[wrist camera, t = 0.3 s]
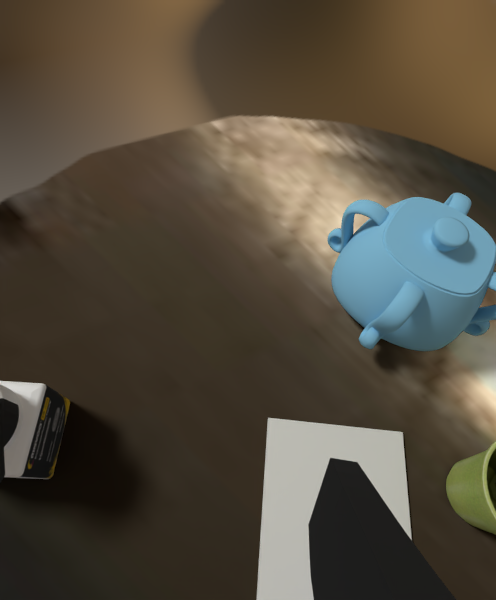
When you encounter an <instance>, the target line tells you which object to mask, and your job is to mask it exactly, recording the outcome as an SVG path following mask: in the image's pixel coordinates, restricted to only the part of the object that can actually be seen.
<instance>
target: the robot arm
mask: <svg viewBox="0 0 496 600" xmlns="http://www.w3.org/2000/svg"><path fill="white" fill-rule="evenodd" d="M4 476H5V459H4V442H3V425H2V407H1V402H0V483H1V481H2V479H3V478H4ZM308 527H309V554H310V573H311V583H312V590H313V597H314V600H456V599H455V597H454V596H453V595H452V594H451V592H450V591H449V590H448V589H447V587H446V586H445V585H444V583H443V582H442V581H441V580H440V578H439V577H438V576H437V574H436V573H435V572H434V570H433V569H432V568H431V566H430V565H429V564H428V562H427V561H426V560H425V558H424V557H423V555H422V554H421V553H420V551H419V550H418V549H417V547H416V546H415V544H414V543H413V542H412V540H411V539H410V538H409V536H408V535H407V533H406V532H405V531H404V529H403V528H402V526H401V525H400V523H399V522H398V521H397V519H396V518H395V516H394V515H393V513H392V512H391V510H390V509H389V508H388V506H387V505H386V503H385V502H384V500H383V499H382V497H381V496H380V494H379V493H378V491H377V490H376V489H375V487H374V486H373V484H372V483H371V481H370V480H369V478H368V477H367V475H366V474H365V472H364V471H363V470H362V468H361V467H360V465H359V464H358V462H353V461H347V460H341V459H335V458H330V460H329V463H328V466H327V469H326V472H325V475H324V478H323V481H322V484H321V487H320V491H319V494H318V497H317V500H316V503H315V506H314V509H313V512H312V515H311V518H310V521H309V524H308Z"/></svg>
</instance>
